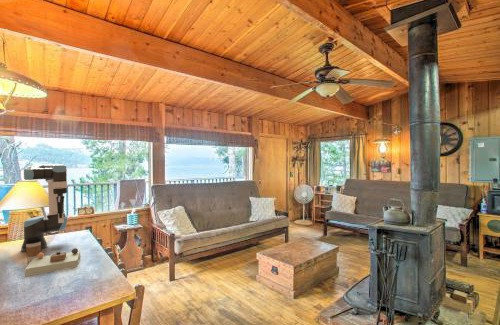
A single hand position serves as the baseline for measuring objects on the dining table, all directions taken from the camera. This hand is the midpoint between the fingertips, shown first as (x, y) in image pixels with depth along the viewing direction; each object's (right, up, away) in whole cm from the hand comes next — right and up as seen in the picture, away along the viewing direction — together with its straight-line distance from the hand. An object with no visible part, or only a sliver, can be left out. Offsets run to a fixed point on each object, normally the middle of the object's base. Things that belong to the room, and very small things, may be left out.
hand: (61, 222), depth 175 cm
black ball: (+11, -18, -2) cm, 21 cm away
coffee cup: (-16, -25, -2) cm, 30 cm away
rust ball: (-6, -19, -9) cm, 22 cm away
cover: (+7, -20, -12) cm, 24 cm away
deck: (+5, -24, -11) cm, 27 cm away
